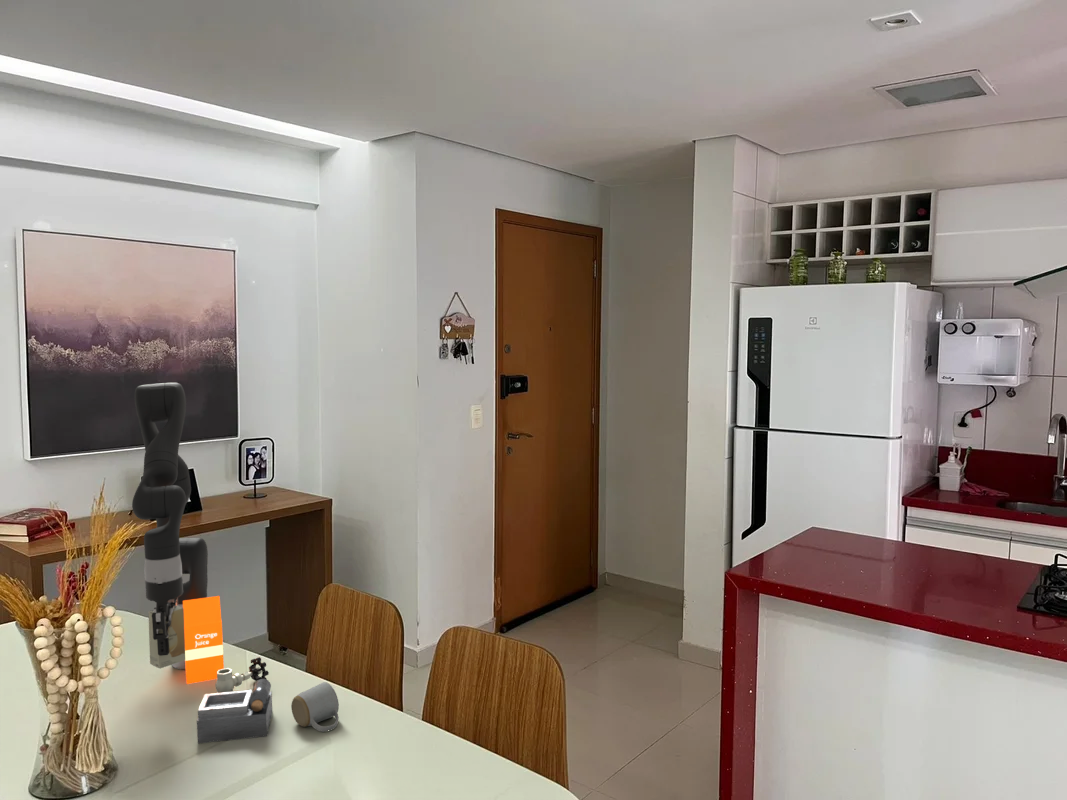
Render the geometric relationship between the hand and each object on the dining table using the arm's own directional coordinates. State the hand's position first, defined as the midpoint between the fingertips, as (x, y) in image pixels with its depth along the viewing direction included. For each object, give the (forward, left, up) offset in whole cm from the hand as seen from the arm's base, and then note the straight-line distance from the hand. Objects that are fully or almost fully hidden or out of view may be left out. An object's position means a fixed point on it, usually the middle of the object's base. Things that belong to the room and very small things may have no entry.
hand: (167, 647), depth 182 cm
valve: (-12, +13, -17) cm, 25 cm away
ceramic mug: (+8, +33, -17) cm, 38 cm away
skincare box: (0, 0, -4) cm, 4 cm away
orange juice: (-24, +3, -17) cm, 29 cm away
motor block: (+7, +15, -17) cm, 23 cm away
